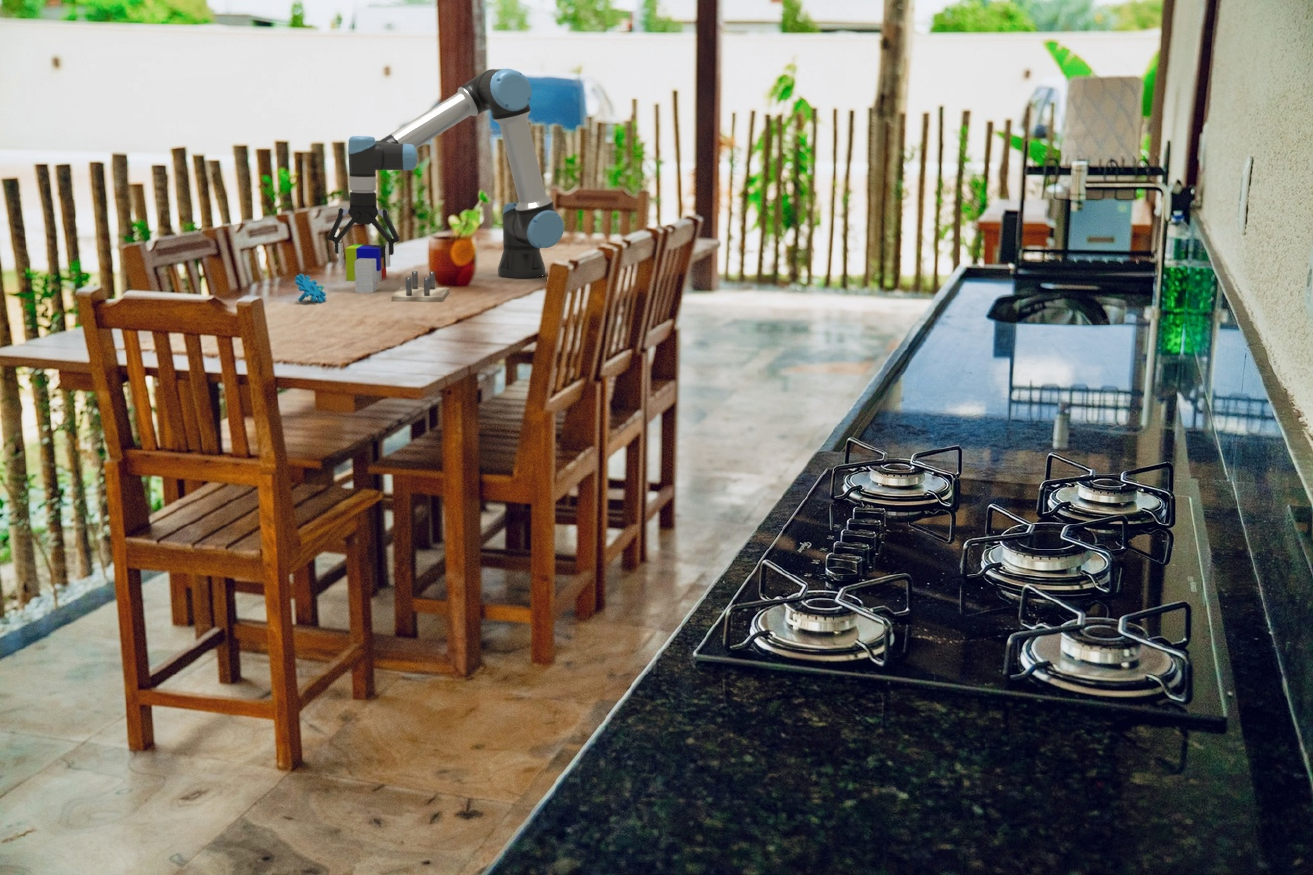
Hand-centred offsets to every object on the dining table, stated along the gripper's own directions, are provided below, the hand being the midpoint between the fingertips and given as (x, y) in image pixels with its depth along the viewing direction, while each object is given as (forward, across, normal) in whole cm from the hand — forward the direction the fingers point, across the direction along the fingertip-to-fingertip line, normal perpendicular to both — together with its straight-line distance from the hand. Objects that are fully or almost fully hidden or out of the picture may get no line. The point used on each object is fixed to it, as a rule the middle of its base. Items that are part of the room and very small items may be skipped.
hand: (364, 265), depth 383 cm
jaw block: (+7, 0, 0) cm, 7 cm away
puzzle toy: (+8, +4, -24) cm, 26 cm away
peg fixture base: (+7, -17, +9) cm, 21 cm away
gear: (+8, +11, +21) cm, 25 cm away
